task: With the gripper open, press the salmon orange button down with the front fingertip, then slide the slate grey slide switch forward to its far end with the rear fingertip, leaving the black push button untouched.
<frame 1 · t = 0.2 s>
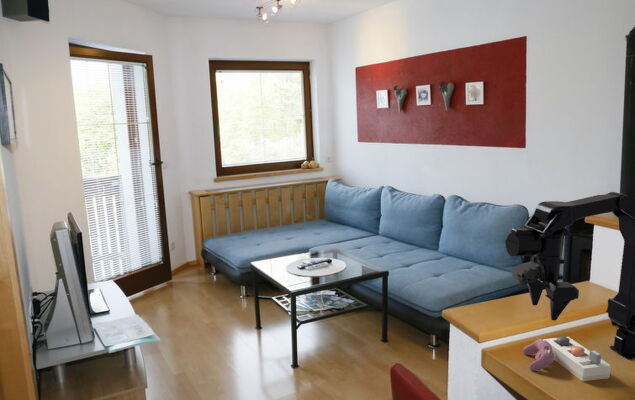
hand: (543, 312, 128), 14 cm above the table, tool pointing down, fingers open, 9 cm apart
switch panel: (574, 363, 130), on the table
video game controller: (537, 363, 131), on the table
black button: (563, 342, 134), point 4 cm above the table, slide at 0.0 cm
slide switch: (594, 361, 124), point 4 cm above the table, slide at 0.0 cm
salmon orange button: (577, 352, 129), point 4 cm above the table, slide at 0.0 cm
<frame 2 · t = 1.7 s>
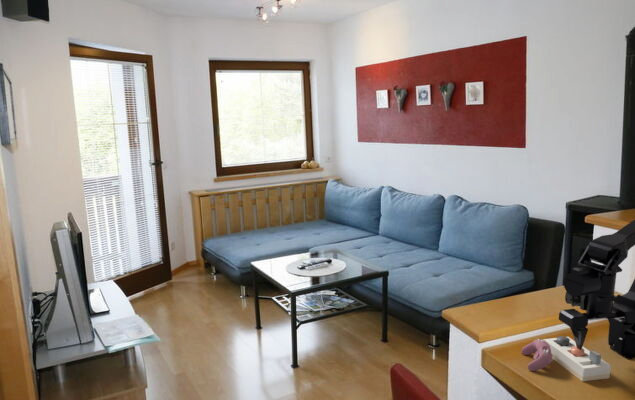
hand: (594, 347, 130), 4 cm above the table, tool pointing down, fingers open, 9 cm apart
salmon orange button: (577, 352, 129), point 3 cm above the table, slide at 0.1 cm, touching gripper
everything else where it was.
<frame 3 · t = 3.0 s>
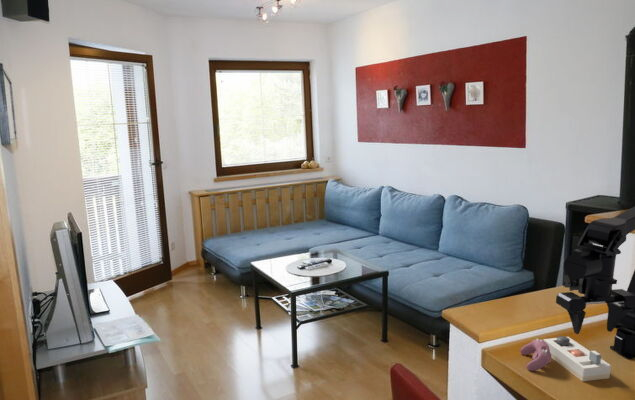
hand: (592, 332, 126), 10 cm above the table, tool pointing down, fingers open, 9 cm apart
salmon orange button: (577, 356, 129), point 3 cm above the table, slide at 1.1 cm
everything else where it was.
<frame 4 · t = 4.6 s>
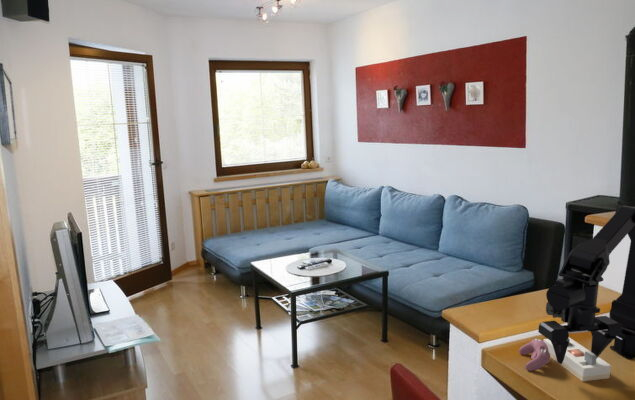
hand: (576, 361, 123), 4 cm above the table, tool pointing down, fingers open, 9 cm apart
slide switch: (590, 361, 124), point 4 cm above the table, slide at 1.3 cm, touching gripper
everything else where it was.
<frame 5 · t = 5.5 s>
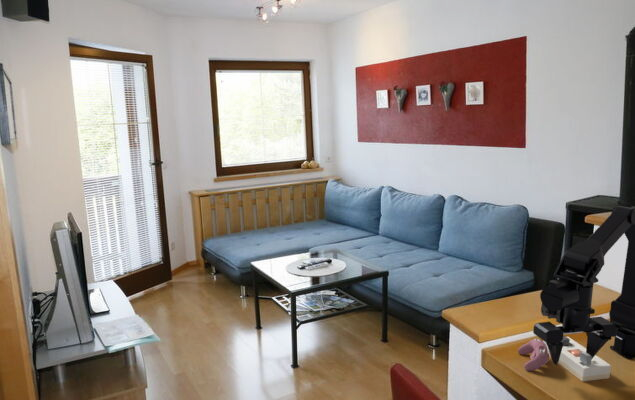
hand: (571, 362, 123), 4 cm above the table, tool pointing down, fingers open, 9 cm apart
slide switch: (585, 362, 124), point 4 cm above the table, slide at 2.6 cm
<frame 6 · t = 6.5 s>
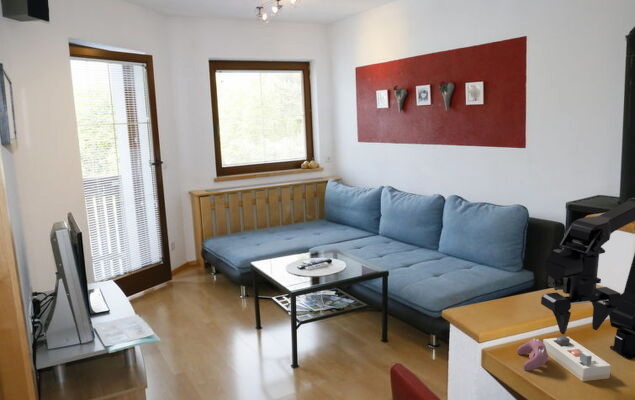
hand: (578, 331, 126), 10 cm above the table, tool pointing down, fingers open, 9 cm apart
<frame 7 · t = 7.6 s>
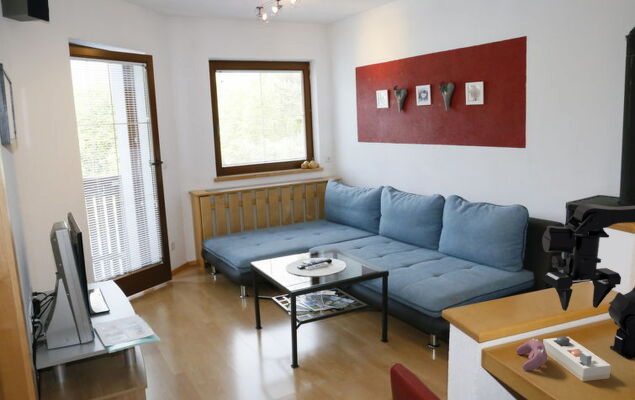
hand: (579, 308, 135), 12 cm above the table, tool pointing down, fingers open, 9 cm apart
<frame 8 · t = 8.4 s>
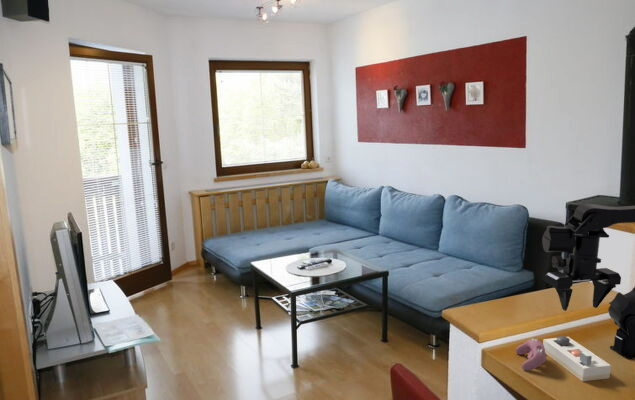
hand: (579, 308, 135), 12 cm above the table, tool pointing down, fingers open, 9 cm apart
at the end: salmon orange button slide at 1.1 cm; slide switch slide at 2.6 cm; black button slide at 0.0 cm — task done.
